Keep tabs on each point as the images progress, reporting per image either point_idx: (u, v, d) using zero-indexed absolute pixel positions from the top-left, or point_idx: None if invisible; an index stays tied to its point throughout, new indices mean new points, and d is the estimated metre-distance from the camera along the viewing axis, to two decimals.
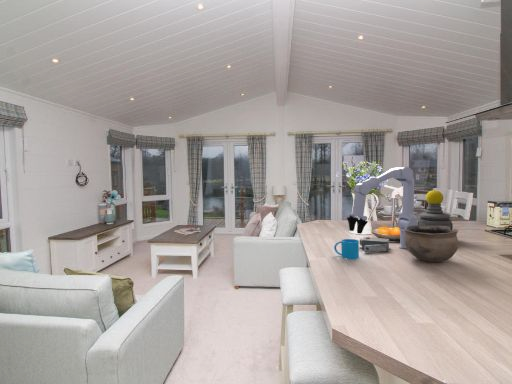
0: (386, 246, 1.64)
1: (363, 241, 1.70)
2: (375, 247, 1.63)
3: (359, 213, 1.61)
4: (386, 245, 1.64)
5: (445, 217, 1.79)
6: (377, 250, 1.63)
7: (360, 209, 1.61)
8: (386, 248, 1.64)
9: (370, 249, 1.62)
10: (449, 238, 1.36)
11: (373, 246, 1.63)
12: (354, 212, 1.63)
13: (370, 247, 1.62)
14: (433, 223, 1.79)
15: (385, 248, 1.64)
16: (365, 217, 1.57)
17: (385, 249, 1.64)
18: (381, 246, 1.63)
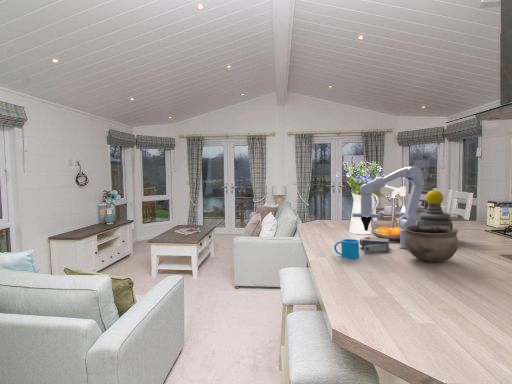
0: (386, 246, 1.64)
1: (363, 241, 1.70)
2: (375, 247, 1.63)
3: (371, 212, 1.71)
4: (386, 245, 1.64)
5: (445, 217, 1.79)
6: (377, 250, 1.63)
7: (371, 208, 1.71)
8: (386, 248, 1.64)
9: (370, 249, 1.62)
10: (449, 238, 1.36)
11: (373, 246, 1.63)
12: (367, 212, 1.71)
13: (370, 247, 1.62)
14: (433, 223, 1.79)
15: (385, 248, 1.64)
16: (380, 215, 1.70)
17: (385, 249, 1.64)
18: (381, 246, 1.63)
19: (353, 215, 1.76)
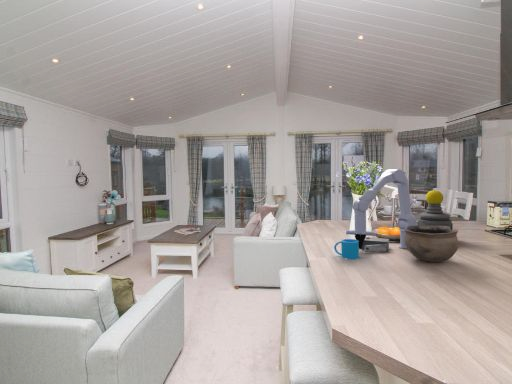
0: (386, 246, 1.64)
1: None
2: (375, 247, 1.63)
3: (365, 230, 1.63)
4: (386, 245, 1.64)
5: (445, 217, 1.79)
6: (377, 250, 1.63)
7: (365, 226, 1.63)
8: (386, 248, 1.64)
9: (370, 249, 1.62)
10: (449, 238, 1.36)
11: (373, 246, 1.63)
12: (361, 230, 1.63)
13: (370, 247, 1.62)
14: (433, 223, 1.79)
15: (385, 248, 1.64)
16: None
17: (385, 249, 1.64)
18: (381, 246, 1.63)
19: (347, 232, 1.68)
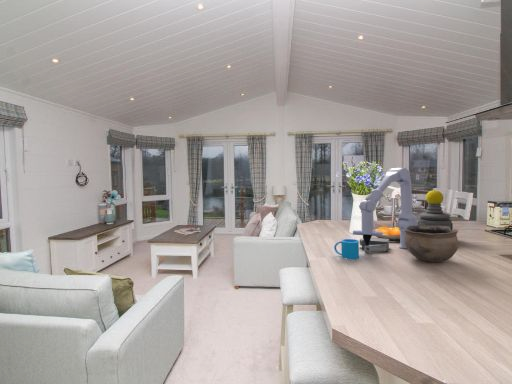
0: (386, 246, 1.64)
1: (363, 241, 1.70)
2: (375, 247, 1.63)
3: (372, 230, 1.62)
4: (386, 245, 1.64)
5: (445, 217, 1.79)
6: (377, 250, 1.63)
7: (372, 226, 1.62)
8: (386, 248, 1.64)
9: (370, 249, 1.62)
10: (449, 238, 1.36)
11: (373, 246, 1.62)
12: (368, 230, 1.61)
13: (370, 247, 1.62)
14: (433, 223, 1.79)
15: (385, 248, 1.64)
16: (382, 233, 1.61)
17: (385, 249, 1.64)
18: (381, 246, 1.63)
19: (353, 233, 1.66)
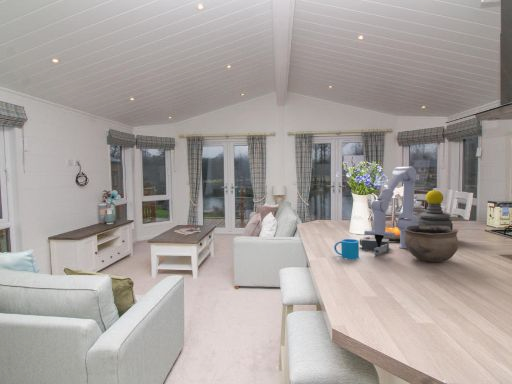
0: (387, 246, 1.63)
1: (363, 241, 1.70)
2: (381, 248, 1.60)
3: (385, 230, 1.59)
4: (387, 245, 1.63)
5: (445, 217, 1.79)
6: (382, 251, 1.60)
7: (385, 226, 1.59)
8: (387, 248, 1.64)
9: None
10: (449, 238, 1.36)
11: (380, 248, 1.59)
12: (380, 230, 1.58)
13: (378, 249, 1.58)
14: (433, 223, 1.79)
15: (386, 248, 1.63)
16: (394, 234, 1.58)
17: (386, 249, 1.63)
18: (384, 247, 1.62)
19: (365, 233, 1.63)
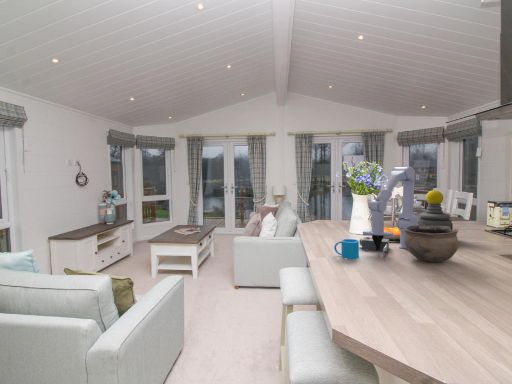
0: (387, 246, 1.63)
1: (363, 241, 1.70)
2: (385, 249, 1.58)
3: (383, 231, 1.59)
4: (387, 245, 1.63)
5: (445, 217, 1.79)
6: (386, 252, 1.59)
7: (383, 227, 1.60)
8: (387, 248, 1.64)
9: None
10: (449, 238, 1.36)
11: (385, 248, 1.57)
12: (379, 231, 1.59)
13: (384, 250, 1.56)
14: (433, 223, 1.79)
15: (387, 248, 1.63)
16: None
17: (387, 249, 1.63)
18: (386, 247, 1.61)
19: (363, 233, 1.64)
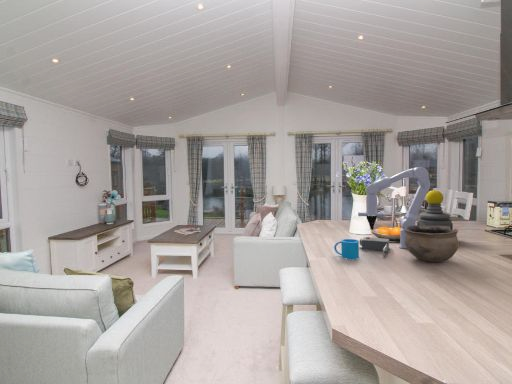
0: (387, 246, 1.63)
1: (363, 241, 1.70)
2: (385, 249, 1.58)
3: (376, 211, 1.74)
4: (387, 245, 1.63)
5: (445, 217, 1.79)
6: (386, 252, 1.59)
7: (376, 208, 1.74)
8: (387, 248, 1.64)
9: None
10: (449, 238, 1.36)
11: (385, 248, 1.57)
12: (373, 212, 1.74)
13: (384, 250, 1.56)
14: (433, 223, 1.79)
15: (387, 248, 1.63)
16: (385, 214, 1.73)
17: (387, 249, 1.63)
18: (386, 247, 1.61)
19: (359, 214, 1.79)
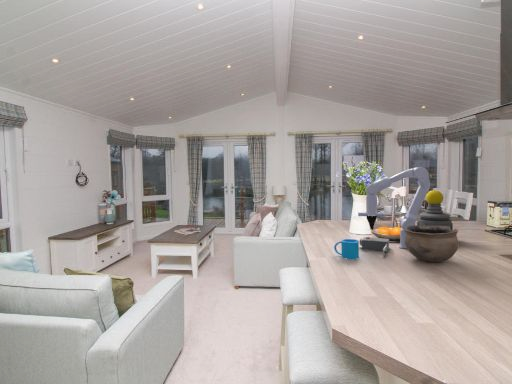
0: (387, 246, 1.63)
1: (363, 241, 1.70)
2: (385, 249, 1.58)
3: (376, 211, 1.75)
4: (387, 245, 1.63)
5: (445, 217, 1.79)
6: (386, 252, 1.59)
7: (376, 208, 1.75)
8: (387, 248, 1.64)
9: None
10: (449, 238, 1.36)
11: (385, 248, 1.57)
12: (373, 211, 1.74)
13: (384, 250, 1.56)
14: (433, 223, 1.79)
15: (387, 248, 1.63)
16: (385, 214, 1.73)
17: (387, 249, 1.63)
18: (386, 247, 1.61)
19: (359, 214, 1.79)
